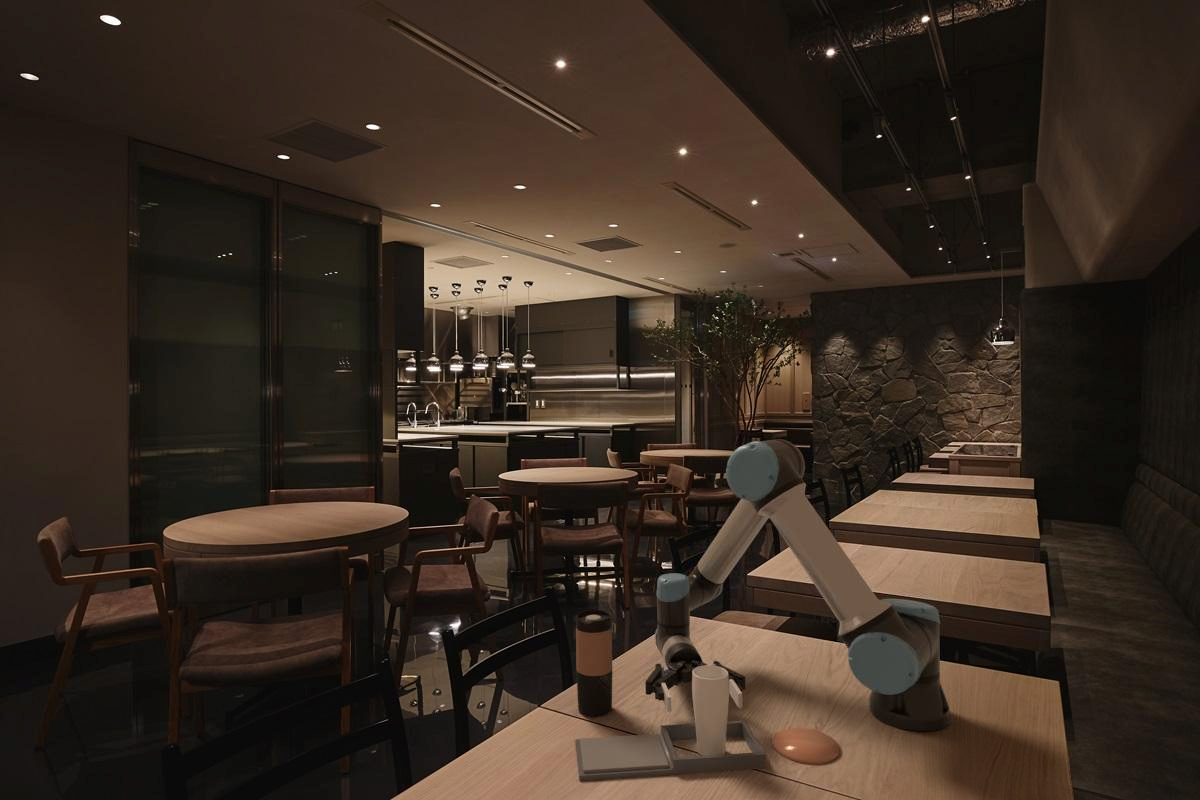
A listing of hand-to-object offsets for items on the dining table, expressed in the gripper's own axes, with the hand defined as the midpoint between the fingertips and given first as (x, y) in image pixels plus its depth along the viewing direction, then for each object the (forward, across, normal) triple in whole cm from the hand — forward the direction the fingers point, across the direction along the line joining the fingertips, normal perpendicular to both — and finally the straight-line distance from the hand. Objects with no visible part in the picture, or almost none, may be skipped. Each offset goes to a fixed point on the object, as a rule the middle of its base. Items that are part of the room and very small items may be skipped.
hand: (705, 702), depth 128 cm
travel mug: (-18, +20, -9) cm, 28 cm away
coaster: (+2, -19, -8) cm, 20 cm away
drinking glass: (+2, -1, -9) cm, 9 cm away
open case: (+2, +8, -8) cm, 12 cm away
